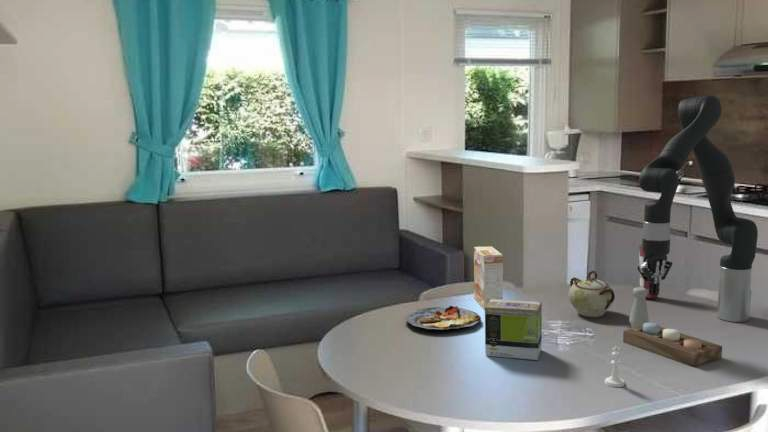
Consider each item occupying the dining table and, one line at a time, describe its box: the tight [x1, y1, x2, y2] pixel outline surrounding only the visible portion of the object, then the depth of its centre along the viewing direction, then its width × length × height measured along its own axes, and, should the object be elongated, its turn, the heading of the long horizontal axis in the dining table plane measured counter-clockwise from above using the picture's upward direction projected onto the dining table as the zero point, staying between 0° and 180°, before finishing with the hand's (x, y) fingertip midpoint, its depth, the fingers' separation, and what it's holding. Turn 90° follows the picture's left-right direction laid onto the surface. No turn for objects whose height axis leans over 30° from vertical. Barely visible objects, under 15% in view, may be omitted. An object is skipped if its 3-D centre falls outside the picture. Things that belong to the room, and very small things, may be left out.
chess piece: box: [604, 345, 626, 388], centre depth 179 cm, size 5×5×10 cm
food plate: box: [404, 305, 482, 331], centre depth 231 cm, size 25×23×4 cm
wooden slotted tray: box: [622, 326, 723, 368], centre depth 202 cm, size 12×24×4 cm, turn 30°
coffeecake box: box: [473, 245, 504, 311], centre depth 250 cm, size 15×7×20 cm, turn 6°
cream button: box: [662, 328, 681, 342], centre depth 201 cm, size 5×5×3 cm
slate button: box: [643, 322, 661, 336], centre depth 207 cm, size 5×5×3 cm
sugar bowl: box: [567, 270, 616, 318], centre depth 236 cm, size 20×15×15 cm
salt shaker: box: [628, 286, 650, 328], centre depth 220 cm, size 6×6×13 cm
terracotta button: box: [684, 339, 702, 350], centre depth 196 cm, size 5×5×3 cm
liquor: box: [638, 244, 659, 300], centre depth 252 cm, size 7×7×28 cm
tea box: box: [484, 298, 543, 361], centre depth 201 cm, size 15×10×15 cm
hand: (653, 294), depth 205 cm, fingers closed
